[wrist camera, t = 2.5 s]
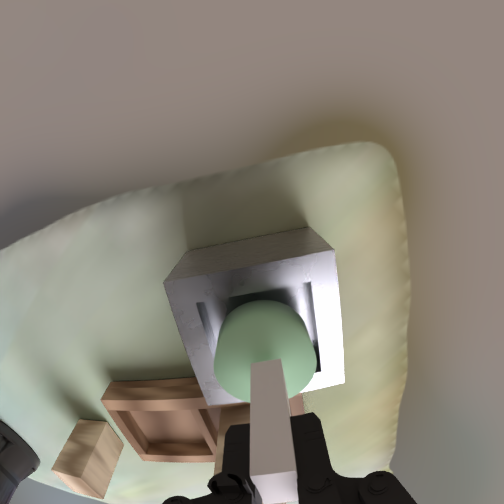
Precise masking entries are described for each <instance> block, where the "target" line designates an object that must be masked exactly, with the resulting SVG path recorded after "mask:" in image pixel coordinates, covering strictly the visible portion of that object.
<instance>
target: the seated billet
mask: <svg viewBox="0 0 504 504" xmlns="http://www.w3.org/2000/svg"><path fill="white" fill-rule="evenodd" d="M247 423H250V404H244V405H236V406H227V407H221V412H220V421H219V430H218V439H217V449H216V458H215V468H214V475H216V474H218V473H220V472H222V462H223V453H224V452H223V451H224V440H225V433H226V432H227V430H228V429H229V427H230V425H237V424H247ZM262 504H263V502H262ZM276 504H286V502H284V503H276Z"/></svg>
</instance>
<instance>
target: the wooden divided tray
mask: <svg viewBox="0 0 504 504" xmlns="http://www.w3.org/2000/svg"><path fill="white" fill-rule="evenodd" d="M101 401H102V403H103V405H104V406H105V408H106V409H107V411H108V412H109V414H110V416H111V417H112V419H113V420H114V422H115V423H116V425H117V426H118V427H119V429H120V430H121V432H122V433H123V435H124V436H125V437H126V439H127V440H128V442H129V443H130V444H131V446H132V447H133V448H134V450H135V451H136V452H137V453H138V455H139V456H140V457H141V459H142V460H143V461H156V462H215V458H216V449H217V439H218V430H219V421H220V412H221V407H227V406H236V405H244V404H250V403H249V402H240V403H231V404H222V405H211V406H208V404H207V402H206V400H205V397H204V395H203V392H202V390H201V388H200V385H199V383H198V380H197V378H196V377H191V378H180V379H166V380H150V381H122V382H111V383H110V384H109V386H108V388H107V389H106V391H105V393H104V395H103V396H102V398H101ZM289 405H290V412H291V416H297V415H302V414H305V413H304V406H303V399H302V392H301V393H298V394H297V395H295V396H293V397H292V398H289Z"/></svg>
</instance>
